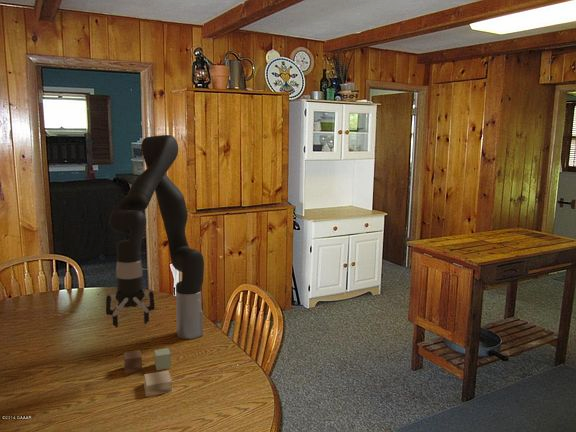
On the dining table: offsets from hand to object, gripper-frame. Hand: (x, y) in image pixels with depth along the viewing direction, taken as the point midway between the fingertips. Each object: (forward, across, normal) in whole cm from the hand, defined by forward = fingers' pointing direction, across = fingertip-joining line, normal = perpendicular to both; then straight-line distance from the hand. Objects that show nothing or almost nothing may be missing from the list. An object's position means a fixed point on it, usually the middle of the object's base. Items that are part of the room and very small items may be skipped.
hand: (131, 324), depth 151 cm
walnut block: (+16, 0, 0) cm, 16 cm away
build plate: (+16, -6, +14) cm, 22 cm away
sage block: (+16, -9, +1) cm, 18 cm away
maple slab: (+15, -6, +14) cm, 21 cm away
